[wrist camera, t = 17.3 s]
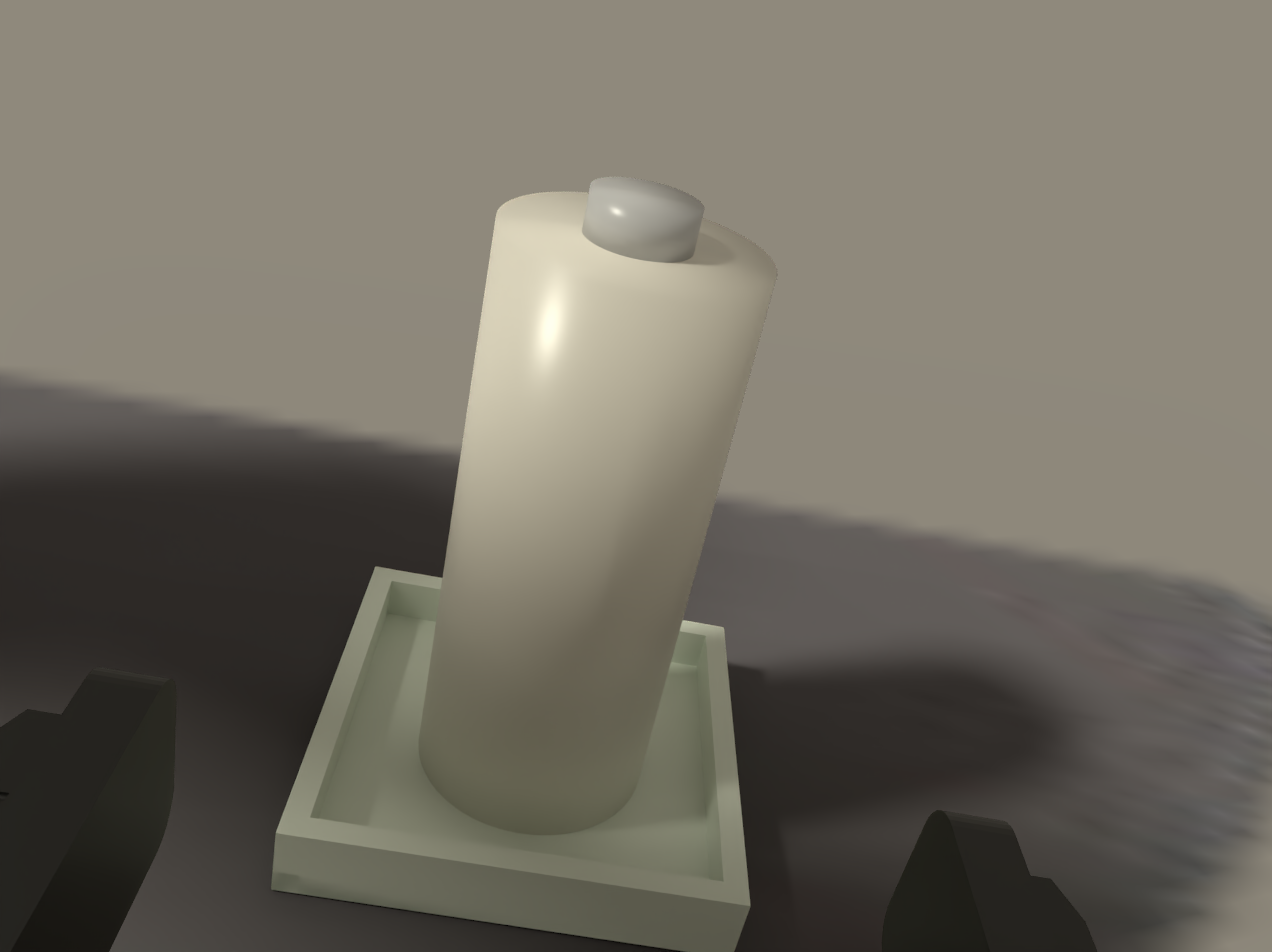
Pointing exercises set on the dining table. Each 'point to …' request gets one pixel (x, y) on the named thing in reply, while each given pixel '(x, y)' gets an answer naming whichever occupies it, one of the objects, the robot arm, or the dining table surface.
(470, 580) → the battery cell
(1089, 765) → the dining table surface
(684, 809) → the tray
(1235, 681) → the dining table surface
